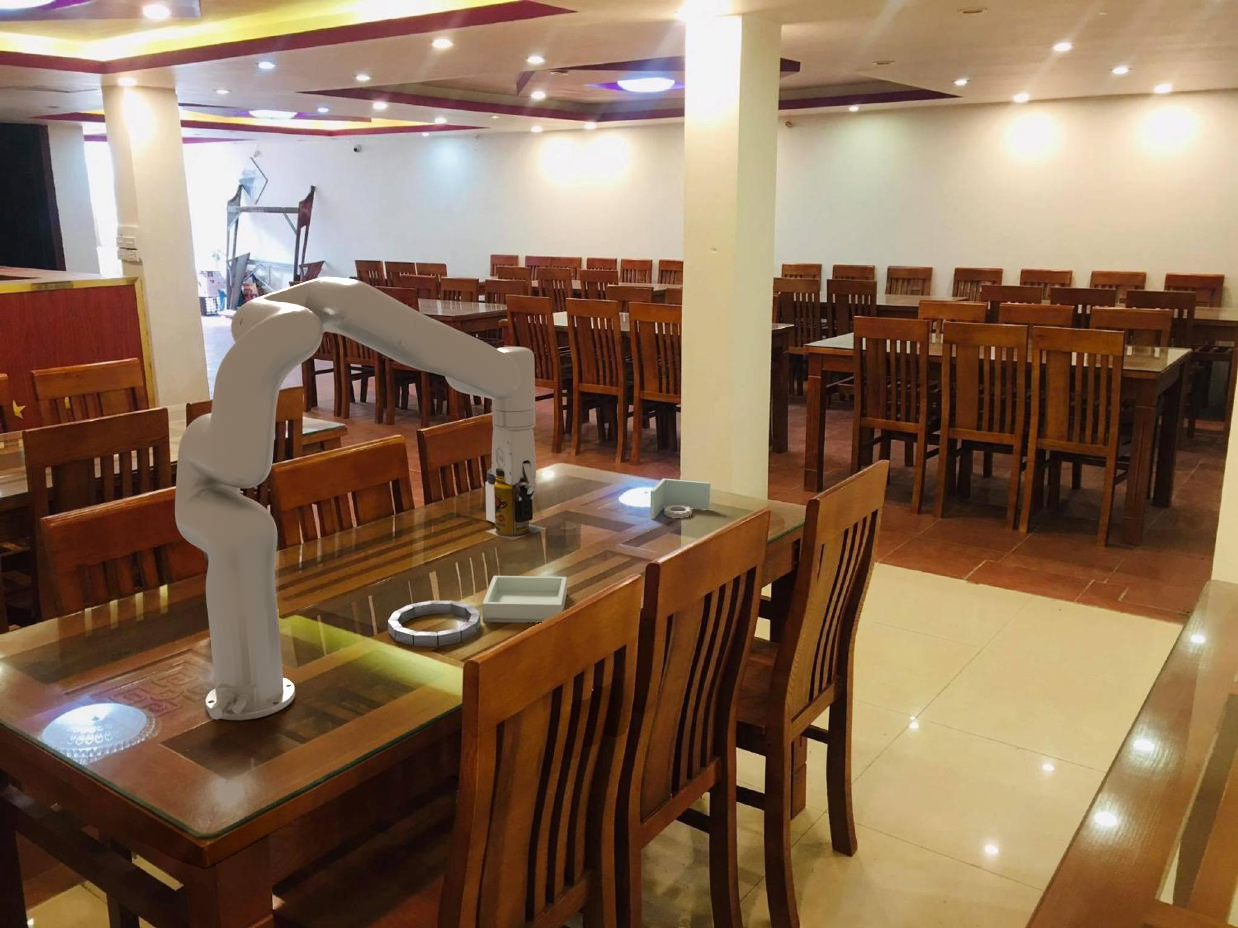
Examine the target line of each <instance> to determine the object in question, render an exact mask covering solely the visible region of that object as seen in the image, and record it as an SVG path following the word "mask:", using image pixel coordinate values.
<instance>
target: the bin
mask: <svg viewBox="0 0 1238 928" xmlns="http://www.w3.org/2000/svg"><path fill="white" fill-rule="evenodd" d="M567 579H568V578H567V576H537V575H536V576H532V575H530V576H529V575H525V576H524V575H493V576H492V578H491V581H490V584H489V586H488V589H487V591H486V593H485V595H484V599H483V602H482V603H481V604H482V605H481V606H482V607H481V608H482V622H483V623H523V624H524V623H526V624H527V622H530V623H531V624H533V623H532V622H535V624H537V623H538V622H541V621H543V620H544V619H547V618H550V617H551V616H554V615H556V614H558V613H560V612H562V611H563V610H565V606H566V600H567V599H566V598H567V593H568V591H567V588H568V587H567V586H568V580H567ZM563 612H564V611H563ZM536 621H538V622H536ZM538 624H539V623H538Z"/></svg>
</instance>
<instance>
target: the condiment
mask: <svg viewBox="0 0 1238 928" xmlns="http://www.w3.org/2000/svg"><path fill="white" fill-rule="evenodd" d="M520 482H526V481H525V479H520V480H519V483H520ZM523 488H525V486H520V490H521V491H522V489H523ZM494 497H495V523H494V524H495V527H494V528H493V529H489V530H485V532H486V533H489V534H492V535H496V536H498V537H501V538H505V539H509V540H512V541H514V540H516V539H520V538H523V537H526V536H529V535H532V534H533V533H537V532H538V533H539V532H540V531H543V530H545V529H547V527H542V526H539V525H535V524H530V521H524V522H516V521H515V500H517V498H516V492H515V486H514V485H513V486H510V485H508V484H507V483H505V480H504V472H503V471H502V470H501V469H499V468H496V482H495V484H494Z"/></svg>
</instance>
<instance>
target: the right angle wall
mask: <svg viewBox="0 0 1238 928" xmlns="http://www.w3.org/2000/svg"><path fill="white" fill-rule="evenodd" d="M710 502H711V482H707V481H695V480H684V479H675V478H674V479H672V478H662V479H661V480H660V481H658V483H656V485H655V486H654V487H652V489H651V490H650V502H649V503H650V509H649V511H650V513H649V516H650V518H649V520H655V519H656V518H657V516H658V515H659V514H660V513H661V512H660V511H662V510H663V511H664V512H663V515H664V516H666V515H667V516H666V518H668V517H669V518H670V517H675V518H676V517H679V518H680V519H683V518H682V517H685V518H688V517H687V516H688V515H690V516H692V514H693V511H692V510H694V509H707V510H709V511H710V506H711V505H710V504H711V503H710ZM664 506H666V507H664ZM691 508H693V509H691ZM659 512H660V513H659Z"/></svg>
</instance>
